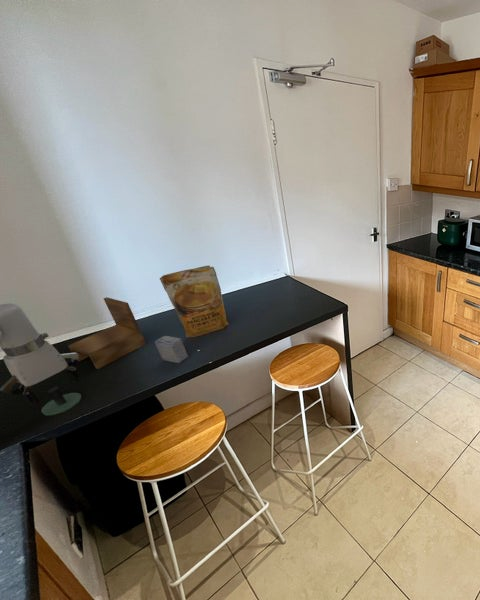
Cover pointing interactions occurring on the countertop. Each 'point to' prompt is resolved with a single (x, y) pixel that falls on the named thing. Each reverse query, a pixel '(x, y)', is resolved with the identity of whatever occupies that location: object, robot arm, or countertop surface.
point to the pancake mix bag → (196, 300)
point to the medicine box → (171, 349)
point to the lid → (60, 402)
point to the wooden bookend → (111, 337)
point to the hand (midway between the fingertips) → (56, 390)
